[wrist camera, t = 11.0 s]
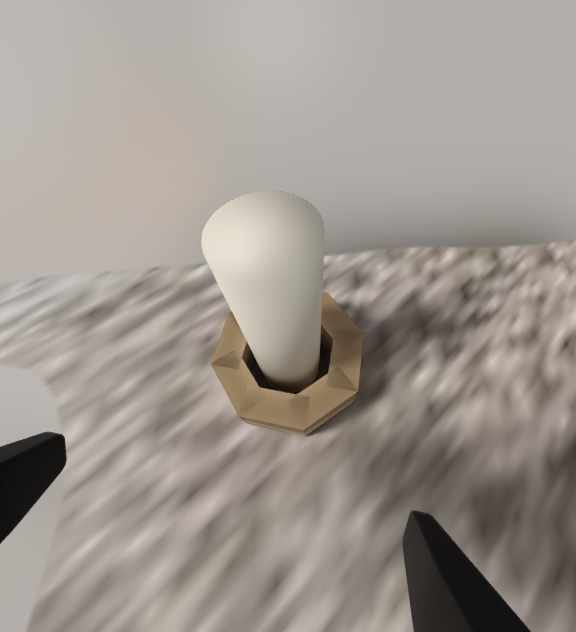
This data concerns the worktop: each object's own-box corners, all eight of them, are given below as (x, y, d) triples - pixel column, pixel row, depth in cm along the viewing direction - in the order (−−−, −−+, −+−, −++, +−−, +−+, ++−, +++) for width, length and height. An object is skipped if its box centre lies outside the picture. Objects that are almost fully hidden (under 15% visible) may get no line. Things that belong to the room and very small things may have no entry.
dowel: (326, 384, 22) (340, 265, 10) (267, 398, 22) (205, 295, 9) (311, 332, 24) (307, 181, 12) (257, 344, 24) (197, 204, 12)
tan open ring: (348, 446, 20) (353, 441, 17) (210, 415, 21) (195, 407, 19) (361, 317, 24) (367, 297, 22) (247, 301, 26) (239, 281, 23)
